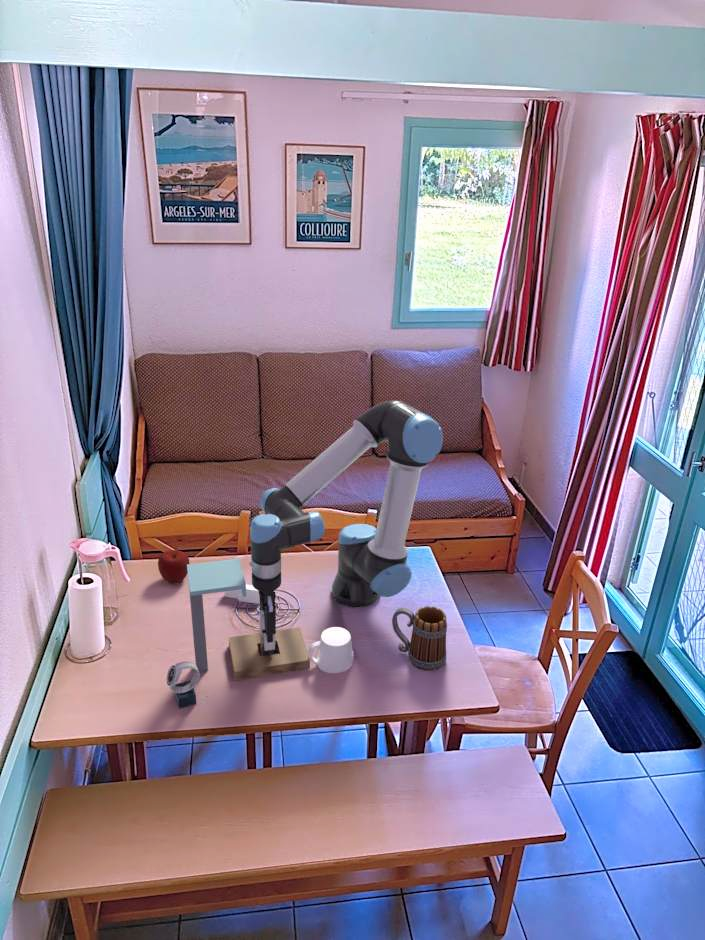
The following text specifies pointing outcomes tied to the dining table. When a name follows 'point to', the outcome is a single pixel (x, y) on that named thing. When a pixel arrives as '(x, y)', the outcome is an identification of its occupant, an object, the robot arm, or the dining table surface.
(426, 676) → the dining table surface
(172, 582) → the apple
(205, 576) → the light blue l-shaped bracket
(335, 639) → the mug
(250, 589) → the napkin holder
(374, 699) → the dining table surface
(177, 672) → the watch
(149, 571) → the dining table surface
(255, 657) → the socket board
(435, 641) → the mug
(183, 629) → the dining table surface
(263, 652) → the peg
